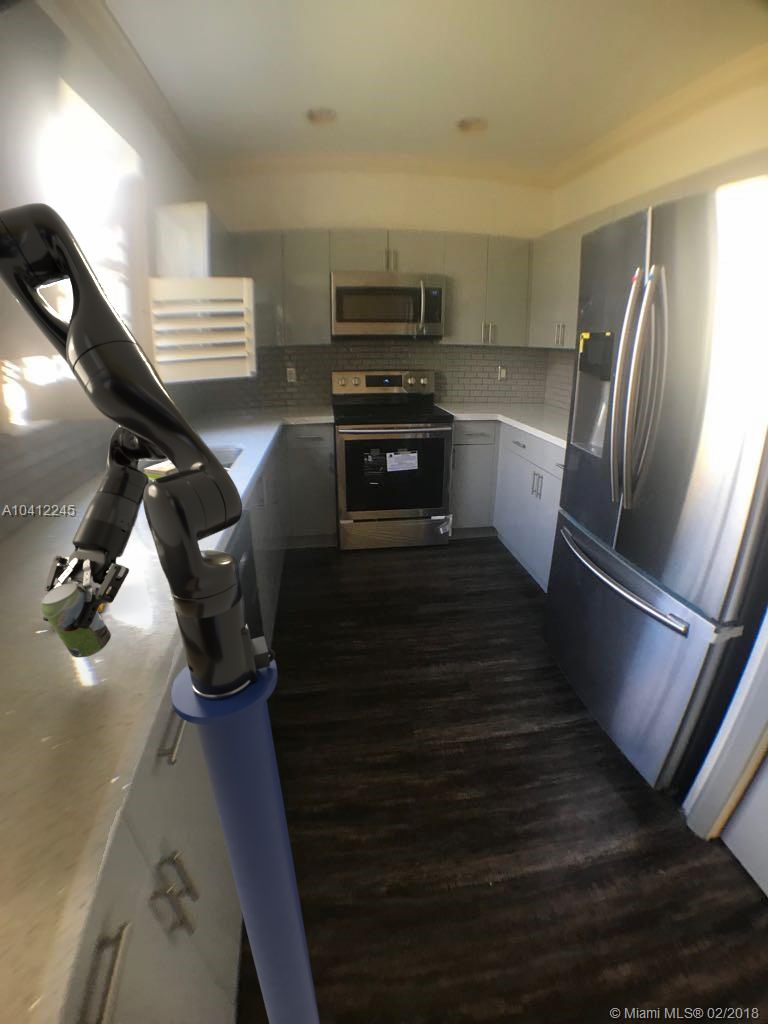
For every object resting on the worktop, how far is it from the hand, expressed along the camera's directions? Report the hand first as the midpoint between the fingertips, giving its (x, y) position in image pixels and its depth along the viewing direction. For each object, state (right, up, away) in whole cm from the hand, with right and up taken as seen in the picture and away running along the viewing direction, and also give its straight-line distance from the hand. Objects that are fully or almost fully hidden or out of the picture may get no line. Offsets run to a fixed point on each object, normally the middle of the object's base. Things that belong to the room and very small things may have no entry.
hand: (65, 624), depth 71 cm
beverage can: (+1, -5, +4) cm, 7 cm away
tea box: (-15, +19, +76) cm, 79 cm away
